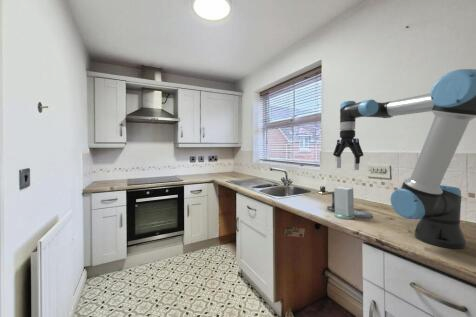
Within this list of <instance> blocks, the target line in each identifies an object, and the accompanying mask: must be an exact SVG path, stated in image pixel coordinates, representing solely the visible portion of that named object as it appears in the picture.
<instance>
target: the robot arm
mask: <svg viewBox="0 0 476 317" xmlns="http://www.w3.org/2000/svg"><path fill="white" fill-rule="evenodd" d="M429 112H431V113H432V114H433V115H434V118H433V121H432V124H431V125H430V128H429V130H428V133H427V135H426V138H425V141H424V143H423V146H422V148H421V151H420V153H419V155H418V158H417V160H416V163H415V166H414V168H413V170H412V173H411V176H410V177H409V178H406V179H404V180H403V183H402V184H401V188H397V189H396V190H394V191H393V192H392V193H391V195H390V199H389V200H390V204H391V207H392V208H393V211H394V212H395V214H396V213H397V215H398V216H400V217H402V218H404V219H406V220H416V221H417V220H419V221H418V223H417V225H416V227H415V230H414V238H416V239H418V240H419V241H421V242H424V243H427V244H430V245H433V246H437V247H442V248H448V249H455V250H456V249H465V248H466V238H465V235H464V233H463V230H462V227H461V210H462V209H461V207H462V198H463V197H462V190H461V189H460V188H459V187H457V186H450V185H443V184H442V181H443V179H444V177H445V176H446V175H445V174H446V173H447V170H448V168H449V166H450V164H451V162H452V159H453V157H455V153H456V151H457V149H458V147H459V145H460V142H461V140H462V138H463V136H464V134H465V132H466V130H467V127H468V125H469V123H470V121H472V120H473V119H476V68H475V69H474V68H473V69H472V68H463V69H455V70H452V71H449V72H448V73H445V74H444V75H442V76H441V77H440V78H438V79H437V80H436V81H435V82H434V84H433V86H432V87H431V89H430V92H429V93H423V94H418V95H413V96H409V97H404V98H400V99H395V100H391V101H387V102H377V101H376V100H375V99H366V100H363V101H359V102H356V101H355V100H346V101H342V102H341V103H340V108H339V130H340V131H339V138H340V139H337V140H336V145H335V148H334V151H333V154H332V155H333V156H334V157H335V168H336V169H341V168H342V154H343V152H344V150H345V149H346V148H349V150H350V151H351V152H352V154H353V166H352V167H353V170H354V171H359V170H360V162H361V157H364V153H363V149H362V147H361V145H360V139H359V138H357V137H356V119H358V118H380V119H381V118H382V119H390V118H393V117H396V116H405V115H411V114H412V115H413V114H419V113H420V114H421V113H429ZM355 137H356V138H355Z"/></svg>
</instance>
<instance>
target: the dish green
mask: <svg viewBox="0 0 476 317" xmlns="http://www.w3.org/2000/svg"><path fill="white" fill-rule="evenodd" d="M333 217H335V218H337V219H341V220H347V221H348V220H354V219H355V216H354V215H352V216H345V215H341V214H336V213H335V212H334V213H333Z"/></svg>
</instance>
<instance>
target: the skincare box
mask: <svg viewBox="0 0 476 317" xmlns="http://www.w3.org/2000/svg"><path fill="white" fill-rule="evenodd" d="M333 189H334V190H333V191H334V197H335V211H334V213H336V214H341V215H345V216H352V215H354V211H355V209H354V208H355V205H354V203H355V202H354V201H355V200H354V188H353V187H343V186H337V187H334V188H333Z"/></svg>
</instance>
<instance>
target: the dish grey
mask: <svg viewBox="0 0 476 317" xmlns="http://www.w3.org/2000/svg"><path fill="white" fill-rule="evenodd" d="M354 217H356V218H359V219H360V218H361V219H371V218H373V214H372V213H370V212H369V211H368V212H367V211H363V210H354Z"/></svg>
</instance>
